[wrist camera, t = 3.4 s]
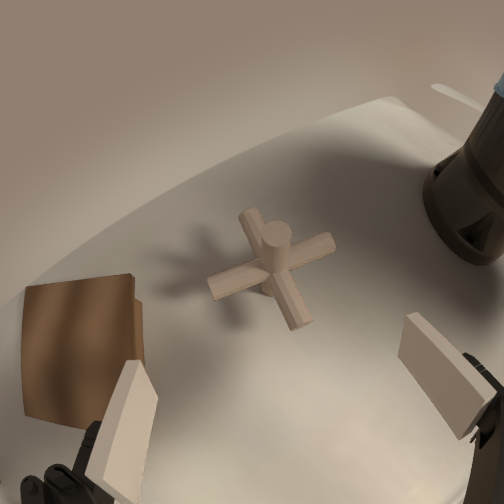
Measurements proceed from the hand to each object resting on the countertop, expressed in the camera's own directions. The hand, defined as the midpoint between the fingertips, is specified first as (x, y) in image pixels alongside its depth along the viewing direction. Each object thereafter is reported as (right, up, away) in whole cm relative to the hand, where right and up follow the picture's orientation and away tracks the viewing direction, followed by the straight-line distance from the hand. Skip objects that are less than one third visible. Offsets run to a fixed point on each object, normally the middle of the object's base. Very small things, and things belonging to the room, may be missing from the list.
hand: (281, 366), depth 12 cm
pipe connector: (0, +2, +14) cm, 14 cm away
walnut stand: (-17, -5, +10) cm, 20 cm away
